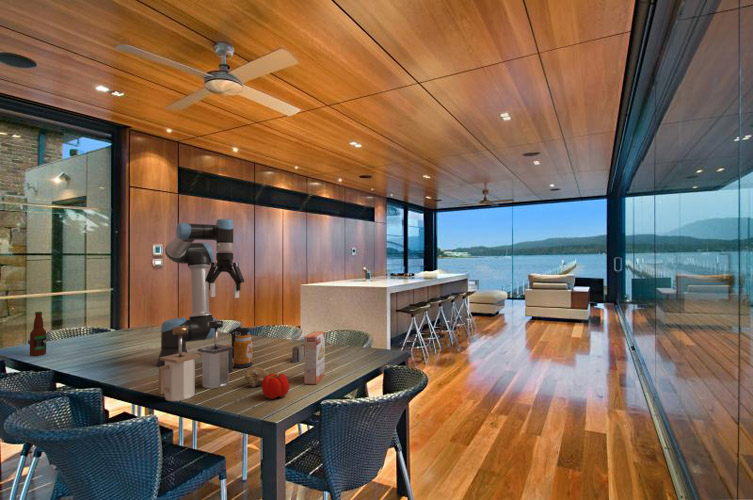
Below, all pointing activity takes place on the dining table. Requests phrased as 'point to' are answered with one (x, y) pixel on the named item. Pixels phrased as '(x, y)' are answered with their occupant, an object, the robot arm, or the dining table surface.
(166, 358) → the ceramic press carafe
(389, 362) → the dining table surface
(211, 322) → the steel plunger
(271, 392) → the tomato
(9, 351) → the dining table surface
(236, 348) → the canister
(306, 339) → the cracker box
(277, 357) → the dining table surface
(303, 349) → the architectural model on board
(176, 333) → the brass press plunger
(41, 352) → the bottle
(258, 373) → the seashell
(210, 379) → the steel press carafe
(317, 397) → the dining table surface
